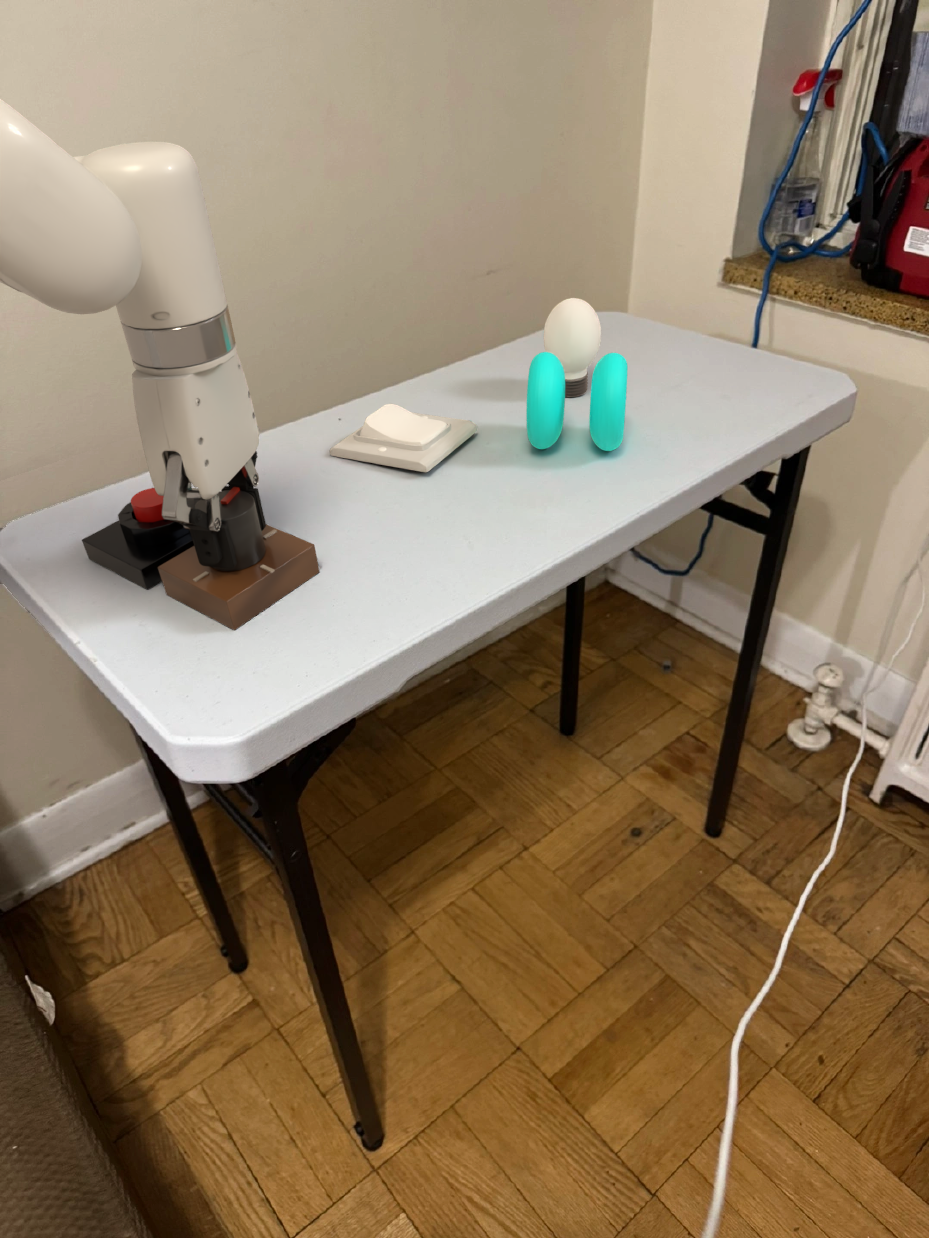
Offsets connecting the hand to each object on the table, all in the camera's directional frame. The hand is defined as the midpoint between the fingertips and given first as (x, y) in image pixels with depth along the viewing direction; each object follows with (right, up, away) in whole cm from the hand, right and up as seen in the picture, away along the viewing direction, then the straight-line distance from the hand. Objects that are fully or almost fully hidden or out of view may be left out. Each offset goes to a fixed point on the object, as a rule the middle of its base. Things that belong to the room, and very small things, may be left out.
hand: (233, 544), depth 74 cm
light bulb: (+33, +21, +32) cm, 50 cm away
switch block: (-9, +1, +8) cm, 12 cm away
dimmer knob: (0, -1, +1) cm, 1 cm away
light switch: (+13, +13, +22) cm, 29 cm away
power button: (-9, +3, +6) cm, 11 cm away
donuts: (+32, +12, +20) cm, 40 cm away
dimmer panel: (0, -3, +3) cm, 4 cm away
